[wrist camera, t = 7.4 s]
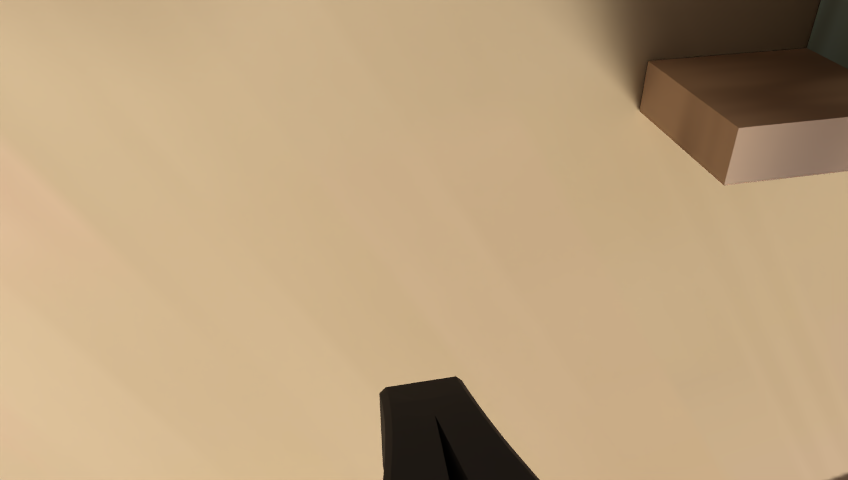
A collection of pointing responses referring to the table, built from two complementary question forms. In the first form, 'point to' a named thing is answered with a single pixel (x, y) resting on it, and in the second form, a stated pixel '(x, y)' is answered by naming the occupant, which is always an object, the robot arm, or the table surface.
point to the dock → (759, 106)
